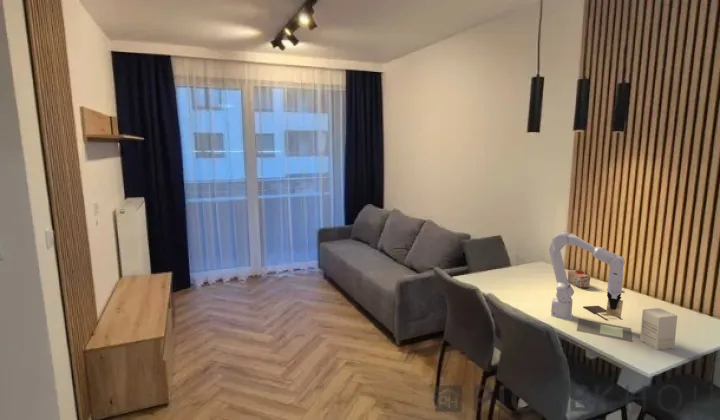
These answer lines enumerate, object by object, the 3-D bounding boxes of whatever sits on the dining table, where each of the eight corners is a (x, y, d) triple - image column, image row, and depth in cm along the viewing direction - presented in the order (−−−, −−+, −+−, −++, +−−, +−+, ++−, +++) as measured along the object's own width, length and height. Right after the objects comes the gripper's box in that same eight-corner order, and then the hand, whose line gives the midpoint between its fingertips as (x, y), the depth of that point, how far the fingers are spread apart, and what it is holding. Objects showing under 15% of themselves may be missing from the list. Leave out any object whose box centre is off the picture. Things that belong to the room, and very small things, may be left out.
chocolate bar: (598, 305, 219) (623, 319, 201) (598, 307, 219) (623, 321, 201) (583, 306, 218) (606, 320, 200) (582, 308, 218) (606, 322, 200)
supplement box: (656, 338, 181) (659, 307, 179) (674, 348, 173) (678, 315, 170) (639, 340, 180) (642, 308, 178) (656, 350, 171) (659, 317, 169)
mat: (576, 331, 189) (576, 330, 189) (578, 319, 203) (578, 318, 203) (632, 343, 178) (632, 341, 178) (631, 329, 191) (631, 328, 191)
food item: (591, 288, 246) (593, 273, 245) (580, 289, 245) (581, 274, 243) (575, 281, 259) (576, 266, 258) (565, 282, 258) (566, 267, 256)
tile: (605, 314, 192) (608, 299, 191) (606, 313, 194) (608, 297, 193) (620, 317, 189) (623, 301, 188) (620, 316, 191) (622, 300, 190)
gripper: (625, 287, 181) (623, 315, 183) (625, 278, 193) (622, 304, 195) (607, 284, 185) (605, 312, 187) (607, 275, 197) (605, 302, 199)
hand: (612, 308), depth 191 cm, fingers closed on tile, 2 cm apart
